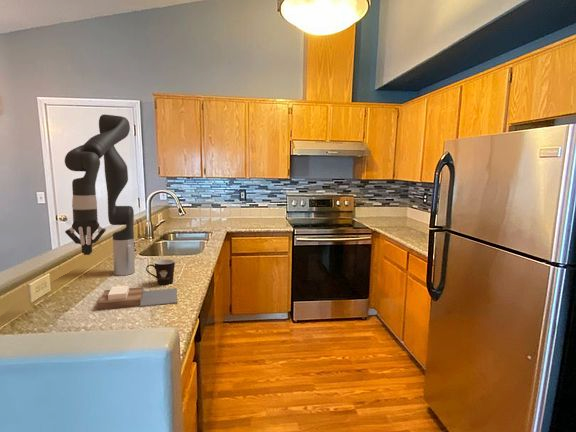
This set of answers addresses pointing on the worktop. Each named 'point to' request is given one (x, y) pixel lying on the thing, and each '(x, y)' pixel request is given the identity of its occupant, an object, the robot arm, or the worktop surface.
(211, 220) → the worktop surface
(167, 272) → the coffee mug
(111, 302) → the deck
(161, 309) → the worktop surface
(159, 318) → the worktop surface
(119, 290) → the cream rectangular block
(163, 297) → the mat
